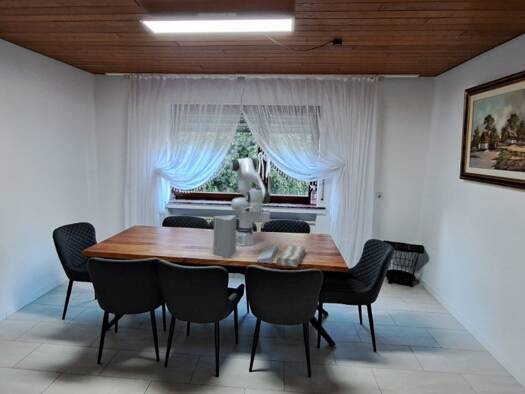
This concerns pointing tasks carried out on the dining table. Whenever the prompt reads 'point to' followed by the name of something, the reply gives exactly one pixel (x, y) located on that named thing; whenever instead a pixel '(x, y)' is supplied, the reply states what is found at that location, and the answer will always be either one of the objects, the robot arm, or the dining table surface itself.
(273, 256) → the decorative molding
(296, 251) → the grey beige flat block
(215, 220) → the tall grey upright block
